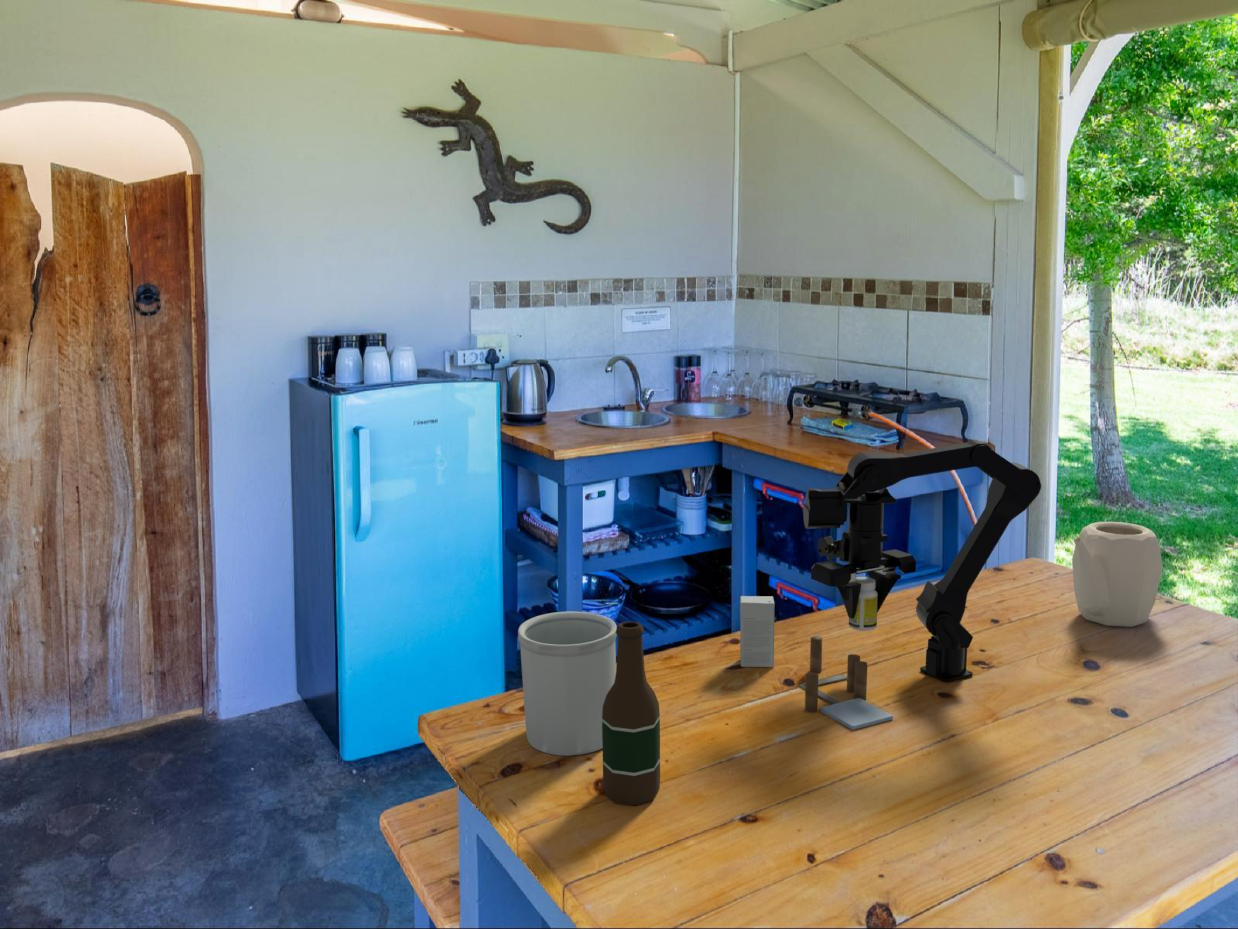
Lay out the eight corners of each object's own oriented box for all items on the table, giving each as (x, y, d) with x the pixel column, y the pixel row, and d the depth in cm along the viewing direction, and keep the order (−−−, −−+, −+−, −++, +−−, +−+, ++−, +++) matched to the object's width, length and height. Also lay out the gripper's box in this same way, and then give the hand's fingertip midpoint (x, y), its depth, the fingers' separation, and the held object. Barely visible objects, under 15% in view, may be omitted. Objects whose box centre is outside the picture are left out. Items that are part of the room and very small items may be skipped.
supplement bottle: (878, 623, 184) (879, 577, 182) (875, 632, 179) (876, 585, 178) (850, 621, 185) (851, 575, 184) (846, 630, 181) (847, 582, 179)
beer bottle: (601, 780, 147) (598, 616, 142) (656, 777, 147) (655, 613, 143) (605, 809, 139) (602, 635, 135) (663, 805, 140) (662, 633, 135)
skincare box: (773, 659, 191) (774, 596, 189) (774, 668, 187) (775, 603, 185) (739, 658, 192) (740, 595, 189) (739, 667, 188) (740, 602, 185)
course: (823, 666, 188) (824, 634, 186) (880, 695, 174) (881, 661, 173) (755, 681, 181) (756, 648, 180) (810, 713, 168) (810, 678, 167)
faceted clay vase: (1032, 623, 209) (1038, 530, 205) (1109, 598, 223) (1116, 511, 220) (1106, 645, 196) (1114, 547, 192) (1182, 618, 211) (1191, 526, 207)
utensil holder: (545, 767, 151) (542, 651, 148) (506, 728, 164) (503, 620, 161) (635, 745, 158) (634, 633, 154) (591, 709, 171) (590, 605, 167)
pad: (859, 701, 172) (859, 697, 172) (892, 719, 165) (893, 715, 165) (820, 711, 169) (820, 707, 169) (852, 730, 162) (852, 726, 162)
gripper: (876, 511, 190) (873, 594, 193) (792, 524, 182) (790, 611, 185) (920, 524, 180) (916, 612, 183) (833, 538, 172) (831, 630, 175)
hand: (862, 615), depth 182 cm, fingers closed on supplement bottle, 5 cm apart
